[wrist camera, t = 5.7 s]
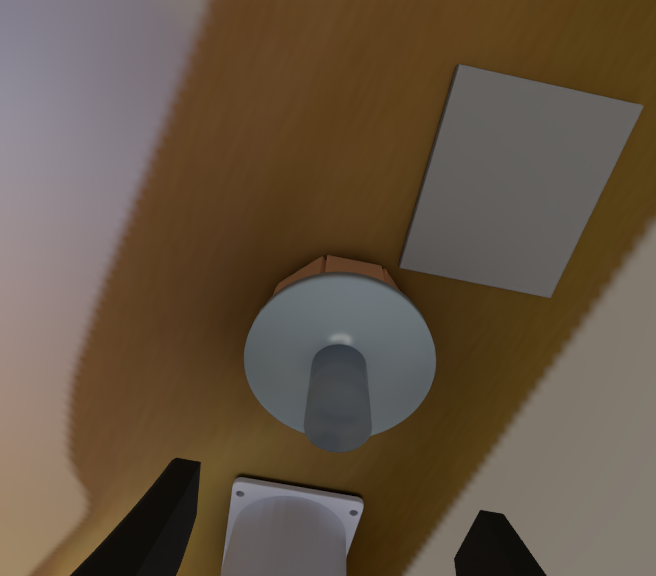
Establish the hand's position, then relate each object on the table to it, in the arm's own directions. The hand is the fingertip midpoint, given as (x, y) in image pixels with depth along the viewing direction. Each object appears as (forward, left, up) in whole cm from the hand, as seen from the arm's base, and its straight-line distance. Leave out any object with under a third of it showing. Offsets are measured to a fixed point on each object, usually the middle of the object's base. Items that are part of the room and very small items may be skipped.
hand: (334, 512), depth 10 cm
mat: (+8, -6, -10) cm, 14 cm away
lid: (0, 0, -7) cm, 7 cm away
